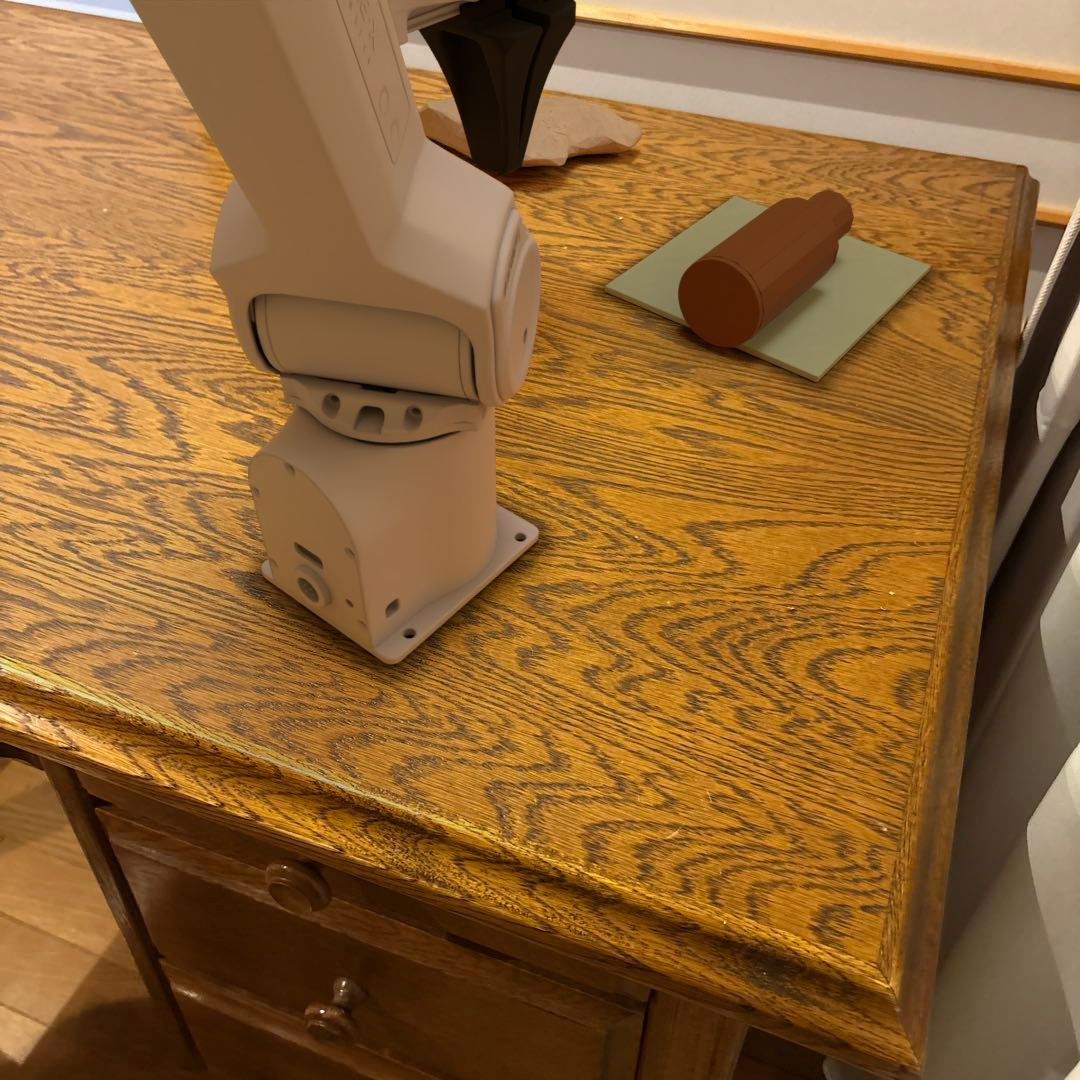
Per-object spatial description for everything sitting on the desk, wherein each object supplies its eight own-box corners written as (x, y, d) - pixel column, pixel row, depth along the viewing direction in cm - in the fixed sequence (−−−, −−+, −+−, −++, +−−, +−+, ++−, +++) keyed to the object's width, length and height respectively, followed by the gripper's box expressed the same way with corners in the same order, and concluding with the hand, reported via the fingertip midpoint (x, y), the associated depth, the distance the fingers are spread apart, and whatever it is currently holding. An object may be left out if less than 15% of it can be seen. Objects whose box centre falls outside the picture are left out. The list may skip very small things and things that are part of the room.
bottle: (767, 279, 50) (879, 188, 57) (683, 246, 52) (801, 162, 59) (750, 361, 53) (857, 266, 60) (672, 327, 55) (784, 239, 63)
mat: (816, 383, 53) (818, 376, 52) (604, 291, 59) (604, 285, 58) (929, 271, 61) (931, 265, 61) (733, 201, 67) (734, 195, 67)
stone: (669, 113, 67) (457, 130, 62) (664, 168, 69) (458, 189, 65) (584, 70, 78) (398, 82, 73) (582, 119, 80) (401, 134, 75)
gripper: (531, -223, 43) (527, 96, 53) (273, -174, 35) (325, 193, 44) (667, -201, 40) (636, 133, 50) (419, -141, 32) (441, 244, 41)
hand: (497, 165), depth 47 cm, fingers closed
